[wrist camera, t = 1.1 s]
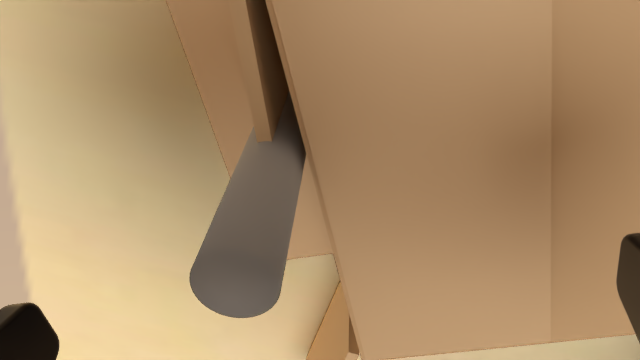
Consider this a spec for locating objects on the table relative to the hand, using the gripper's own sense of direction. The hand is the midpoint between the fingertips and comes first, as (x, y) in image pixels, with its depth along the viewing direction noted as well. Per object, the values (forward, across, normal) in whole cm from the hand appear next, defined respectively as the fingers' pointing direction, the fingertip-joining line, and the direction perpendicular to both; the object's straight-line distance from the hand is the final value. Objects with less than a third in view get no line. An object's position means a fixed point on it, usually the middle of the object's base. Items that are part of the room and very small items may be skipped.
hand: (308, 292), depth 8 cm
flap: (+12, +2, -1) cm, 12 cm away
